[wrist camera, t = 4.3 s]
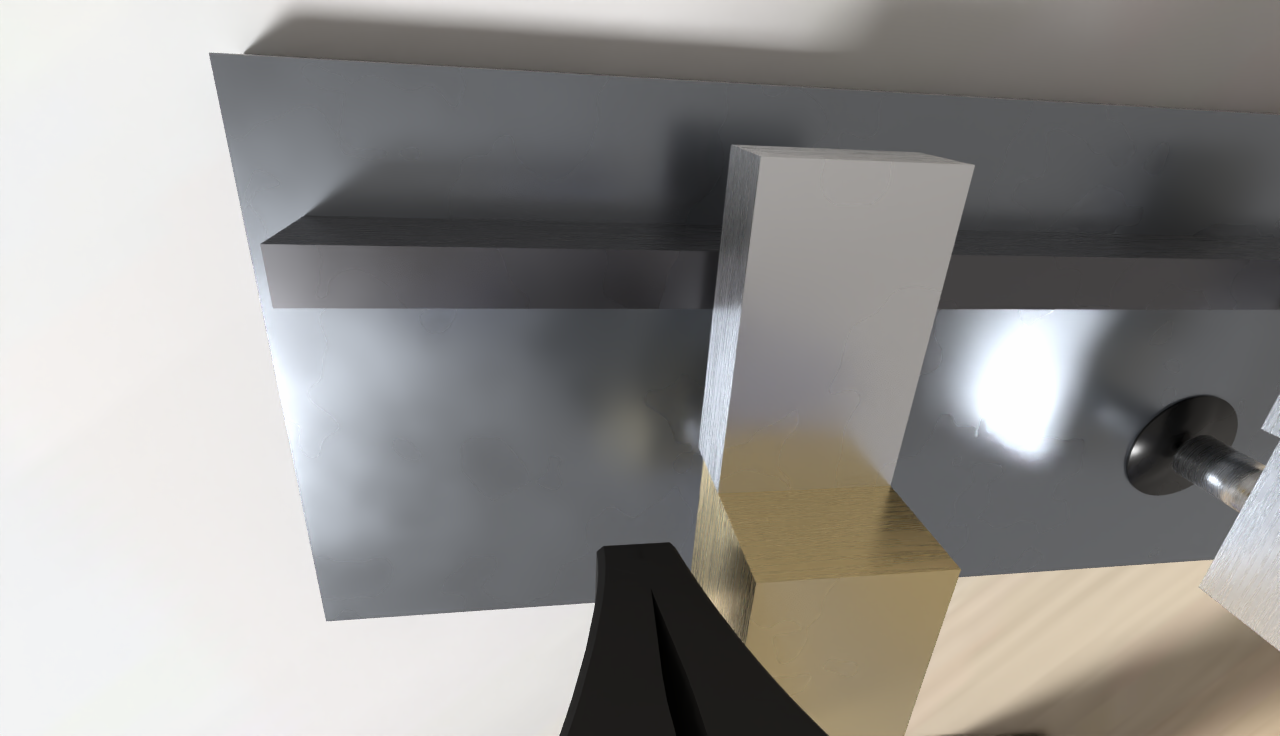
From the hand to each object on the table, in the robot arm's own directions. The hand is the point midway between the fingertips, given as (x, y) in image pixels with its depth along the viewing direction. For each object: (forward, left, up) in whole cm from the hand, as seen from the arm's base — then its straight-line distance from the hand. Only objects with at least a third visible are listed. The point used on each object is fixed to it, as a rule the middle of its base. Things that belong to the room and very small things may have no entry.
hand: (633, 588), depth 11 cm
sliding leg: (+3, -3, -3) cm, 5 cm away
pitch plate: (+2, -6, -5) cm, 8 cm away
